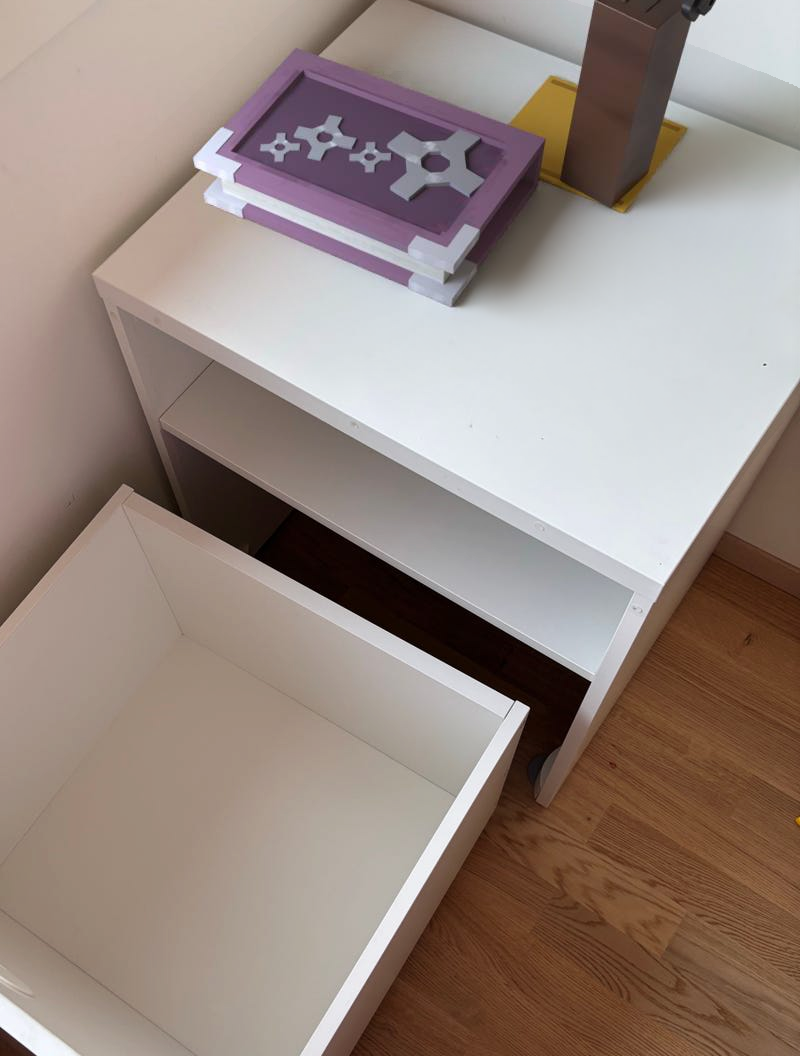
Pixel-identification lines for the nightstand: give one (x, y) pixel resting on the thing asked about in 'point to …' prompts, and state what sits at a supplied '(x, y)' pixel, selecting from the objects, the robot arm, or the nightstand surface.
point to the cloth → (552, 121)
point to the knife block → (622, 94)
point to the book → (373, 173)
